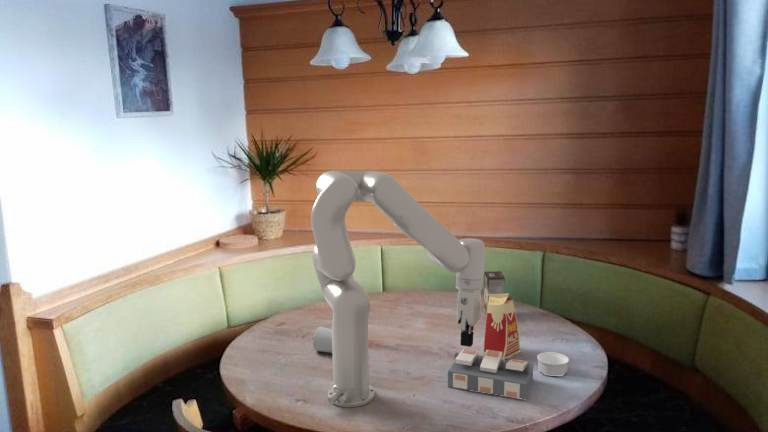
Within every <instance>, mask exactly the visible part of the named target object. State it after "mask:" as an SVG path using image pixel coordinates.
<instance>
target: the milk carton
mask: <svg viewBox="0 0 768 432" xmlns="http://www.w3.org/2000/svg"><path fill="white" fill-rule="evenodd" d="M488 295H489V296H490V297H489V302H488V308H487V316H485V327H484V337H483V338H484V339H483V351H482V353H483V355H485V352H486V350H494V351H500V352H502V358H501V359H503V360H505V359H506V358H508V357H510V356H512V355H514V354H516V353H517V354H519V353H520V352H521V344H520V336H519V335H520V334H519V333H520V332H519V327H518V321H517V314H516V309H515V304H514V303H515V302H514V299H513V298H511V297H509V295H510V292H506V293H504V294H488ZM519 351H520V352H519ZM518 352H519V353H518ZM517 354H516V355H517ZM514 356H515V355H514ZM512 357H513V356H512ZM510 358H511V357H510ZM508 359H509V358H508ZM506 360H507V359H506Z"/></svg>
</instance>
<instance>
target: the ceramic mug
mask: <svg viewBox="0 0 768 432" xmlns="http://www.w3.org/2000/svg"><path fill="white" fill-rule="evenodd" d="M312 340H313V341H312V342H313V343H312V344H313V349H314V351H315V352H321V353H328V354H332V328H328V327H324V326H318V327H317V329H316V330H315V332H314V335H313V339H312Z"/></svg>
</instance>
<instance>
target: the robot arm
mask: <svg viewBox="0 0 768 432" xmlns="http://www.w3.org/2000/svg"><path fill="white" fill-rule="evenodd" d="M315 188H316V193H317V198H316V199H315V202H314V204H313V206H312V209H311V212H310V213H311V214H310V225H311V230H312V235H313V238H314V243H315V246H314V247H313V251H312V263H313V266H314V269H315V273H316V275H317V280H318V283H319V286H320V290H321V292H322V295H323V298H324V301H326V303H327V304H328V305H329V306H330V308H331V309H332V322H331V323H332V324H331V329H332V353H331V355H332V380H333V381H332V382H333V383H332V384H333V386H331V388H330V389H328V391H327V399H326V400H327V403H328V404H329V405H331V406H332V405H336V406H339V407H343V408H357V407H361V406H365V405H367V404H369V403H371V402H372V401H373V400H374V398H375V396H376V391H375V388H374V387H373V386H372V385H370V377H369V375H370V372H369V371H370V369H369V368H370V367H369V366H370V365H369V364H370V363H369V317H370V308H371V307H370V306H371V303H370V298H369V294H368V292H367V291H366V290H365V288H364V287H363V286H362V285H361V284H359V282H358V281H356V280H355V278H354V275H353V274H354V272H355V269H356V257H355V253H354V250H353V246H352V244H351V240H350V238H349V233H348V230H347V224H346V215H347V213H348V211H349V209H350V207H351V206H352V205H353V204H354V203H359V202H360V203H364V202H369V203H371V204H373V205H374V206H375V207H376V208H377V209H378V210H379V211H380V212H381V213H382V214H383V215H384V216H385V217H386V218H387V219H388V220H389V221H390V222H392V224H393V225H394V226H395V227H396V228H397V229H399V231H400V232H401V233H403V235H405V236H407V237H408V238H409V239H411V240H412V241H414V242H416V243H418V244H419V245H420V246H422V247H423V248H424V249H426V252H427V256H428V258H429V260H430V261H431V262H432V263H434V264H435V265H437V266H439V267H441V268H443V269H444V270H446V271H448V272H449V273H455V288H456V289H457V290H458V293H457V301H456V302H457V305H456V323H457V325H460V343H459V344H460V346H464V347H469V348H471V347H472V346H473V345H474V328H475V325H476V324H477V323H478V322H479V320H480V319H481V317H482V290H484V272H485V269H484V268H485V251H486V250H485V248H486V247H485V243H484V241H483V240H481V239H479V238H473V237H472V238H471V237H470V238H469V237H467V238H462V239H458V238H457V237H456V236H455V235H454V234H453V233H452V232H450V230H448V229H447V227H445V226H444V225H443V224H442V223H440V222H439V221H438V219H436V218H435V217H434V216H433V215H432V214H431V213H429V211H427V210H426V209H425V208H424V207H423V206H422V205H421V204H420V203H419V202H418V201H417V200H416V199H415V198H414V197H413V196H412V195H411V194H410V193H409V192H408V190H407V189H406V188H405V187H403V185H401V183H399V182H398V180H396V179H395V178H394V177H393V176H391V175H390V174H388V173H385V172H381V171H377V170H329V171H324V173H322V174H321V175H320V176H319V177H318V179H317V181H316V186H315Z"/></svg>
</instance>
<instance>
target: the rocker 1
mask: <svg viewBox="0 0 768 432" xmlns="http://www.w3.org/2000/svg"><path fill="white" fill-rule="evenodd" d="M476 356H479V351H476V350H473V349H466V348H465V349H462V350H461V351H460V352H458V356H457V357H456V358H455V357H454V362H455V363H457V364H463V365H469V366H471V365H472V363H473V362H474V360H475V357H476Z"/></svg>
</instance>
